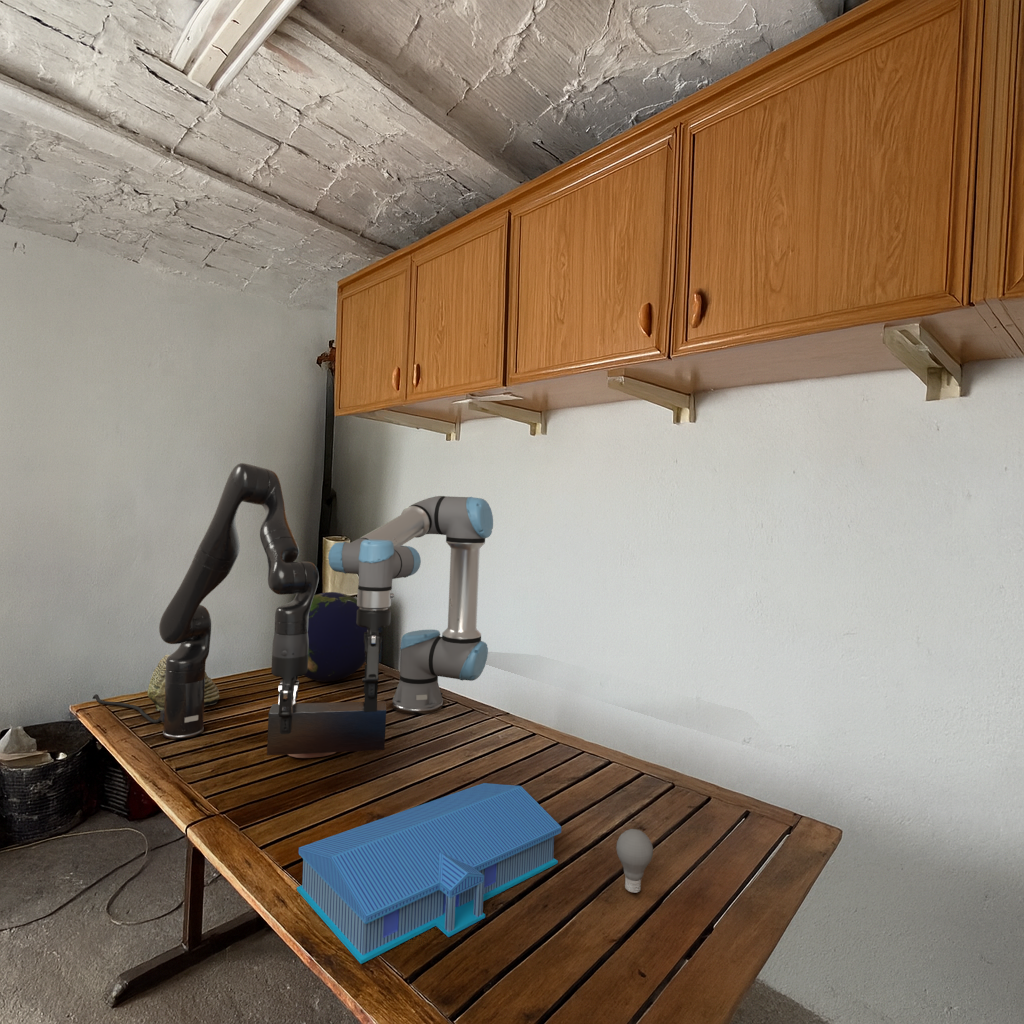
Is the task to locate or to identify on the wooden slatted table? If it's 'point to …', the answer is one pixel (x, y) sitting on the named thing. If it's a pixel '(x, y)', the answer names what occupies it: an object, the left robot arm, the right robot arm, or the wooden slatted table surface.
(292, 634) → the left robot arm
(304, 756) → the anatomical model
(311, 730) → the box
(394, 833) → the model building
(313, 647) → the globe
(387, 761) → the wooden slatted table surface
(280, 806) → the wooden slatted table surface
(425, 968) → the wooden slatted table surface
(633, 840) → the light bulb
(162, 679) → the fossil
